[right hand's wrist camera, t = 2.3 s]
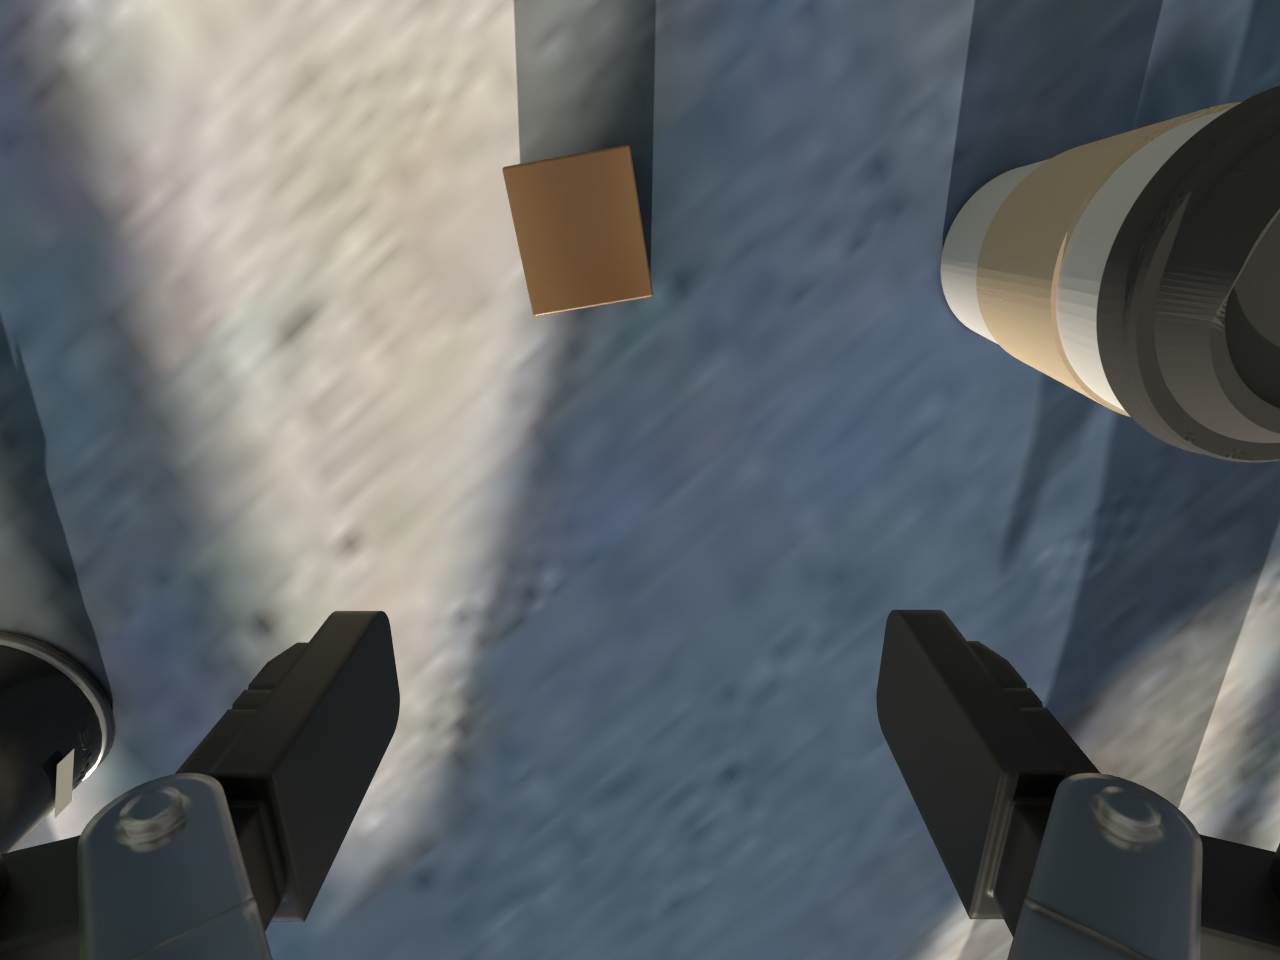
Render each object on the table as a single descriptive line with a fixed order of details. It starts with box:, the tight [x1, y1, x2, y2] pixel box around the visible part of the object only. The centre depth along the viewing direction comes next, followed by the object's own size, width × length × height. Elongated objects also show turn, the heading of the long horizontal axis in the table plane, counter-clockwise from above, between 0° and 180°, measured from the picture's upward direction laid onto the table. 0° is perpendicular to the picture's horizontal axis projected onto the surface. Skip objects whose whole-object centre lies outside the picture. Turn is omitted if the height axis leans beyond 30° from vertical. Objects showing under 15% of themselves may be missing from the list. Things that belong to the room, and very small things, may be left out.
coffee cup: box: [941, 86, 1280, 462], centre depth 22 cm, size 9×9×15 cm
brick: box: [503, 145, 653, 316], centre depth 27 cm, size 4×5×4 cm
